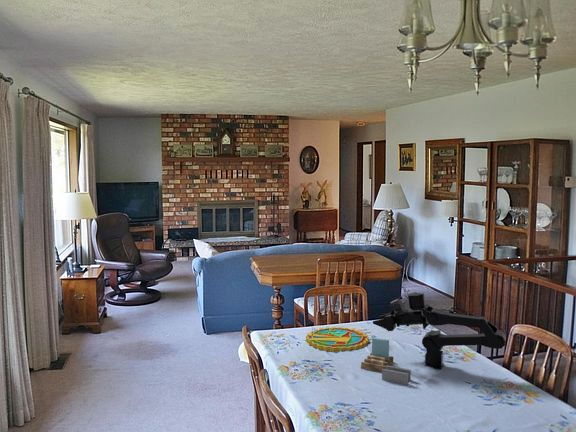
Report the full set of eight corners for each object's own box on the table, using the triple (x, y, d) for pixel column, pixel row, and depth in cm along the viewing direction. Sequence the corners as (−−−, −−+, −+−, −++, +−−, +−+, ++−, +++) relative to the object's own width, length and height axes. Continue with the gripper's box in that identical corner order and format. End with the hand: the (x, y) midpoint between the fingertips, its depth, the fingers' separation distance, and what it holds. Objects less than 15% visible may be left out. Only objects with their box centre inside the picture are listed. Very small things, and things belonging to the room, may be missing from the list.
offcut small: (383, 369, 208) (383, 361, 207) (382, 370, 207) (382, 362, 206) (371, 367, 210) (371, 358, 210) (370, 368, 209) (370, 360, 208)
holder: (410, 380, 198) (410, 369, 197) (407, 385, 193) (407, 374, 193) (385, 376, 202) (385, 365, 202) (381, 380, 198) (382, 369, 198)
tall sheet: (388, 362, 215) (389, 339, 214) (387, 364, 213) (388, 341, 212) (372, 360, 218) (373, 337, 217) (371, 361, 216) (372, 338, 215)
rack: (394, 363, 215) (394, 356, 215) (385, 374, 204) (386, 366, 204) (369, 359, 220) (369, 352, 220) (360, 369, 209) (360, 362, 209)
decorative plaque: (303, 346, 230) (307, 325, 260) (303, 351, 230) (307, 330, 260) (370, 348, 227) (367, 326, 257) (370, 353, 227) (367, 332, 257)
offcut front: (385, 365, 211) (385, 357, 211) (383, 367, 210) (384, 358, 210) (371, 363, 214) (371, 355, 214) (370, 364, 213) (370, 356, 213)
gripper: (413, 295, 223) (379, 297, 230) (403, 303, 207) (366, 306, 214) (417, 320, 223) (382, 321, 230) (407, 330, 206) (370, 332, 213)
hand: (375, 319), depth 222 cm, fingers open, 9 cm apart
